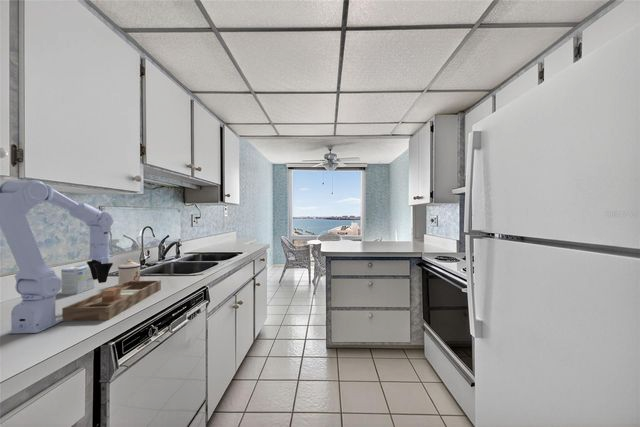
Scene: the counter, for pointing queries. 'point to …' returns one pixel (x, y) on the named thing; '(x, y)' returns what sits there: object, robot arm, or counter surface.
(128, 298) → the track
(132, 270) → the teacup with lid
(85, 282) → the light bulb box
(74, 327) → the counter surface
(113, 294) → the block
